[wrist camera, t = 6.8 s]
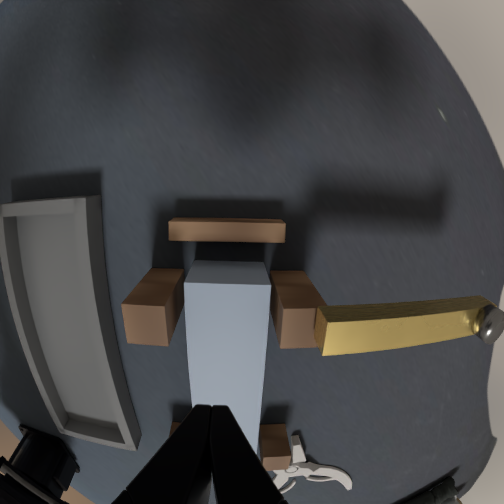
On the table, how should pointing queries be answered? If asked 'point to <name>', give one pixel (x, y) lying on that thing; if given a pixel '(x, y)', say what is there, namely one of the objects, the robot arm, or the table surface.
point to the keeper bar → (404, 324)
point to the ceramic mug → (452, 501)
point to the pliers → (307, 469)
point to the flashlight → (437, 493)
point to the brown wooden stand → (172, 301)
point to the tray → (67, 315)
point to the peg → (228, 337)
